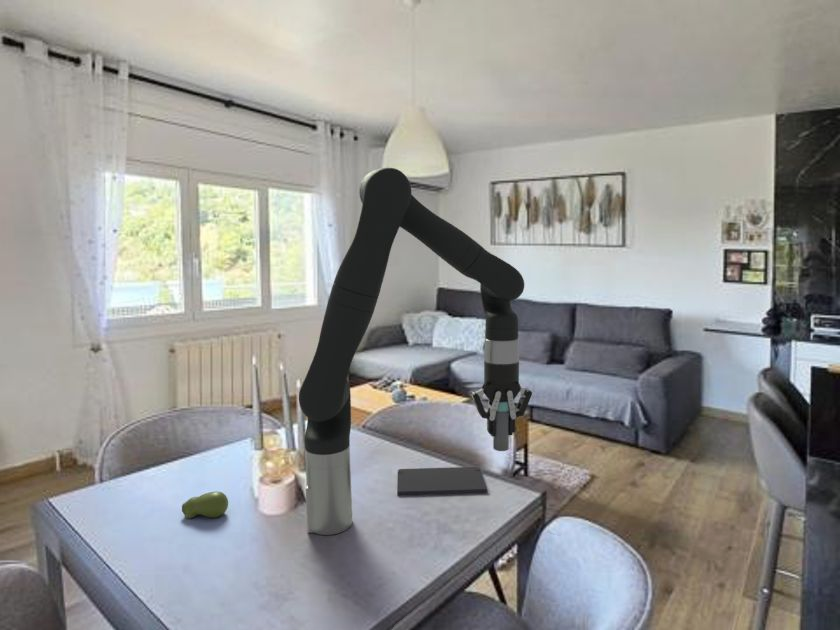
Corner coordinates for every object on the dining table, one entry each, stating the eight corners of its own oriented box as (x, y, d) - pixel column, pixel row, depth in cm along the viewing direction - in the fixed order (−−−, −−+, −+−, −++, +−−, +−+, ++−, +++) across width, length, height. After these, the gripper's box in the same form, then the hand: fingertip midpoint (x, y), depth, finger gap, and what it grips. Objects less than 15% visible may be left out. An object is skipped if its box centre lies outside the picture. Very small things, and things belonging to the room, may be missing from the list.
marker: (495, 451, 115) (495, 403, 113) (490, 445, 118) (491, 398, 117) (511, 450, 115) (511, 402, 114) (506, 444, 119) (506, 397, 118)
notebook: (397, 497, 124) (487, 495, 124) (397, 491, 124) (487, 488, 124) (397, 474, 136) (479, 472, 137) (397, 468, 136) (479, 466, 137)
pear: (217, 497, 112) (174, 503, 113) (223, 520, 113) (180, 526, 114) (229, 485, 118) (188, 491, 119) (234, 507, 118) (193, 513, 120)
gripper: (474, 364, 110) (474, 443, 112) (538, 361, 112) (537, 438, 114) (465, 356, 117) (466, 431, 119) (526, 353, 119) (525, 427, 121)
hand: (501, 434), depth 117 cm, fingers closed on marker, 3 cm apart
